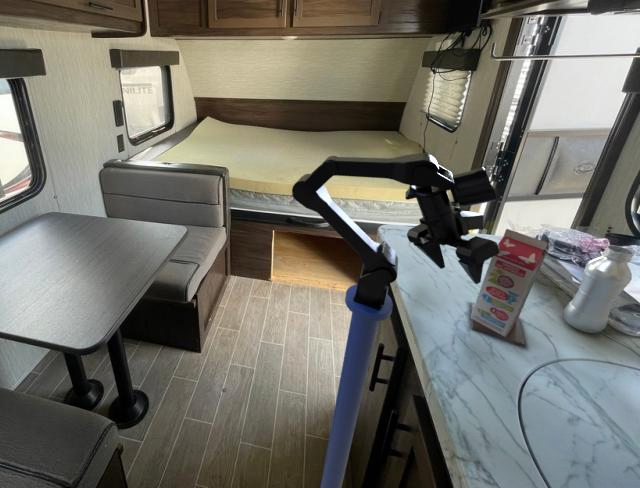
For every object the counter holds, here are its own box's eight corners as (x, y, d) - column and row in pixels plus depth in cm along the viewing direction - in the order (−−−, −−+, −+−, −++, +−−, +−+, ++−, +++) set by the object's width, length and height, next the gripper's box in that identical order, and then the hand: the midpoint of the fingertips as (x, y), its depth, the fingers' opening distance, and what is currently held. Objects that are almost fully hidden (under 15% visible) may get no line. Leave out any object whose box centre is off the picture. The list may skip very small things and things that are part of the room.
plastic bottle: (610, 339, 69) (656, 260, 61) (574, 335, 69) (615, 257, 62) (585, 317, 74) (624, 243, 67) (552, 313, 75) (587, 240, 68)
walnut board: (471, 328, 71) (472, 326, 71) (470, 304, 78) (471, 302, 78) (523, 347, 66) (525, 344, 66) (517, 320, 73) (519, 317, 73)
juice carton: (481, 305, 76) (511, 224, 68) (516, 323, 71) (553, 237, 63) (469, 317, 73) (500, 233, 65) (505, 337, 68) (543, 248, 60)
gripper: (511, 201, 60) (533, 273, 62) (435, 191, 78) (454, 247, 80) (462, 226, 58) (486, 299, 61) (396, 210, 77) (417, 267, 79)
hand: (459, 274), depth 70 cm, fingers open, 9 cm apart
